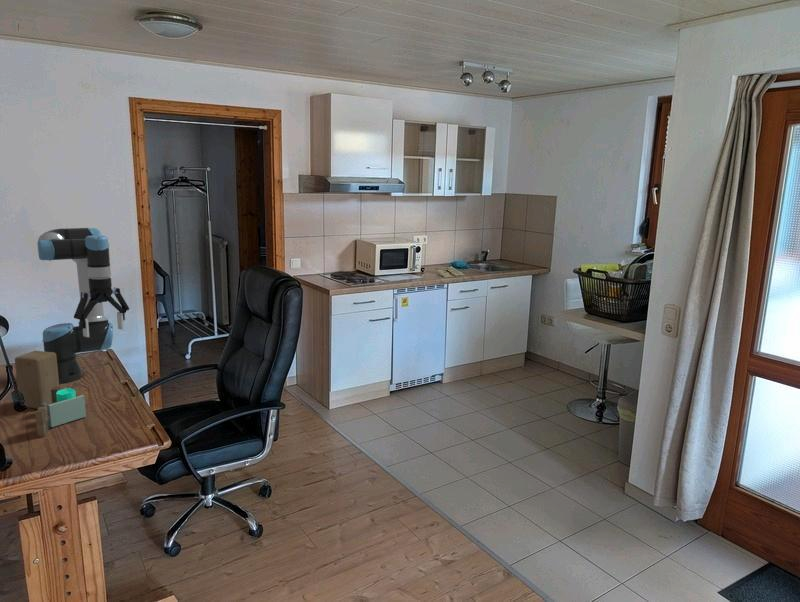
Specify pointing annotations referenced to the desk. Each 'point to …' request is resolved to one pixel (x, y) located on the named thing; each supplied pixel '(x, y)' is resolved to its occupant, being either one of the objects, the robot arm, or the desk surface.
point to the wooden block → (37, 377)
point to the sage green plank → (66, 411)
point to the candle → (65, 394)
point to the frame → (45, 414)
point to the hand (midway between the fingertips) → (104, 332)
